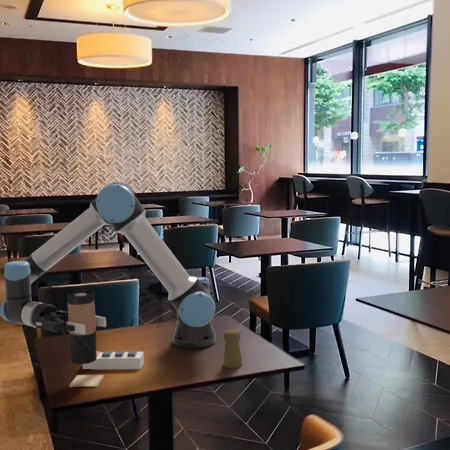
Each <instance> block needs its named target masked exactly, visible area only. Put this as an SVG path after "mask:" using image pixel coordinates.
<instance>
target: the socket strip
mask: <svg viewBox="0 0 450 450" xmlns="http://www.w3.org/2000/svg"><path fill="white" fill-rule="evenodd" d="M144 353H145V352H144V351H137V350H129V351H125V350H115V351H112V350H104V351H103V352H102V351H100V350H96V360H95V361H94V362H91V363H88V364H82V370H83V369H92V370H93V371H95V370H97V371H99V370H101V371H102V370H105V371H106V370H110V371H111V370H141V369H142V368H143V365H144V363H145V355H144ZM94 369H95V370H94ZM92 370H91V371H92Z"/></svg>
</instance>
